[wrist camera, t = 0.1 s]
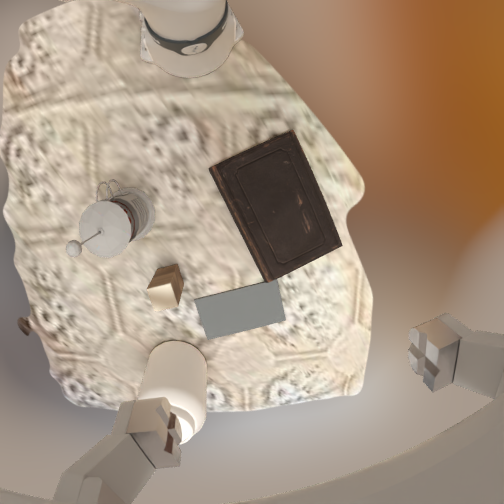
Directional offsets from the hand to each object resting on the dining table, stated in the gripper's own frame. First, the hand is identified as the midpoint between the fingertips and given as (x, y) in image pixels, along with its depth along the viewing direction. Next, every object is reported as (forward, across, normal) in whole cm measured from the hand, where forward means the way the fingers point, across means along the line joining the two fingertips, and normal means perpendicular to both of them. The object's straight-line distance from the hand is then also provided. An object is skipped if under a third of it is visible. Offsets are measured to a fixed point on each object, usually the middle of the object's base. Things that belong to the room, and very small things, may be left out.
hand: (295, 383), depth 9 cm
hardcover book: (+49, -8, +3) cm, 49 cm away
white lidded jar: (+48, +19, +29) cm, 59 cm away
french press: (+48, +18, -4) cm, 51 cm away
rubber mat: (+48, +3, +20) cm, 52 cm away
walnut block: (+48, +14, +10) cm, 51 cm away
